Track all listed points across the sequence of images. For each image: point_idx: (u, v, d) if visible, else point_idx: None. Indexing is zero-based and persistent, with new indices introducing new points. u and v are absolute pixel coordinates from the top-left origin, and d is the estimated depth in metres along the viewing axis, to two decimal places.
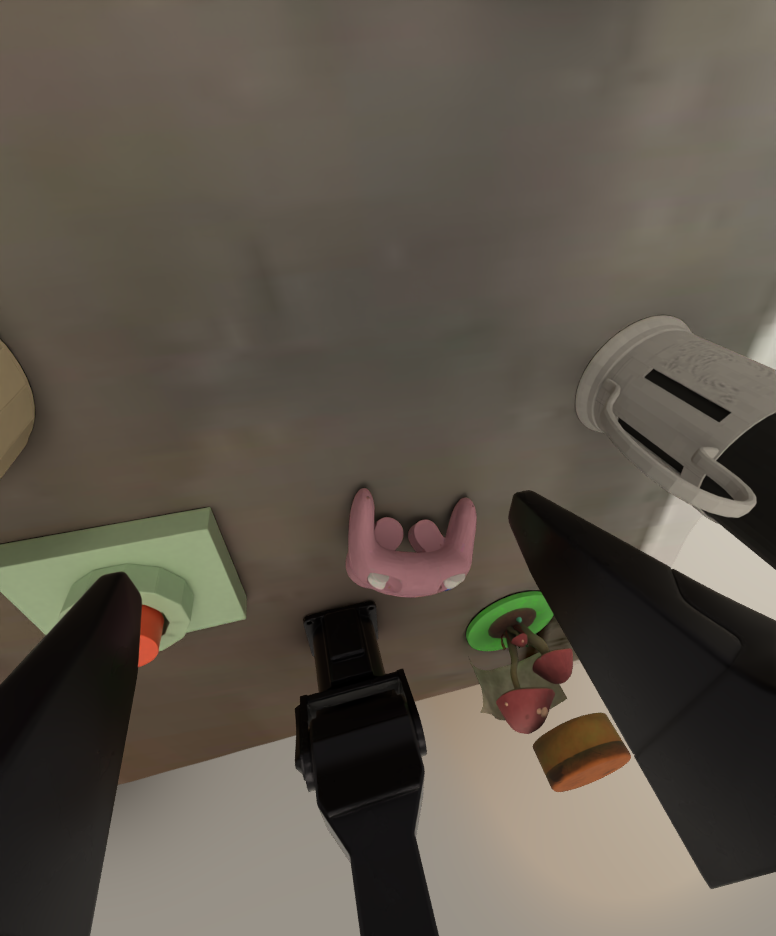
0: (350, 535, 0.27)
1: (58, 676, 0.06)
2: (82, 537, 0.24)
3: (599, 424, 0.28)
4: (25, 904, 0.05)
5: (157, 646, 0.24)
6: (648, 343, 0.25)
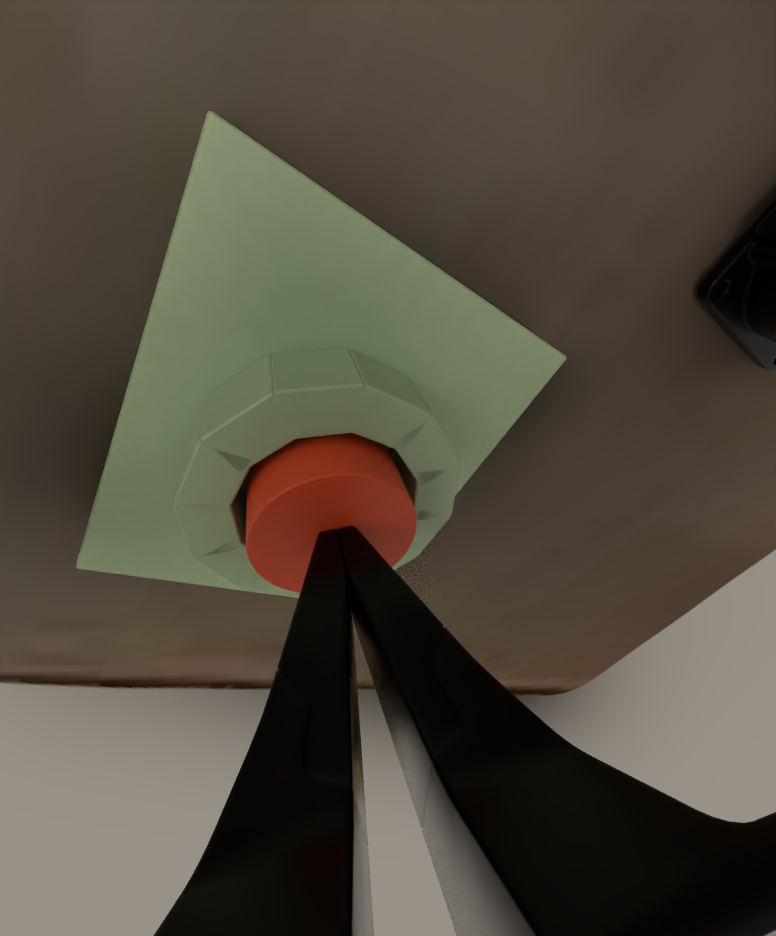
0: None
1: (342, 609, 0.07)
2: None
3: None
4: (360, 796, 0.06)
5: (388, 483, 0.09)
6: None
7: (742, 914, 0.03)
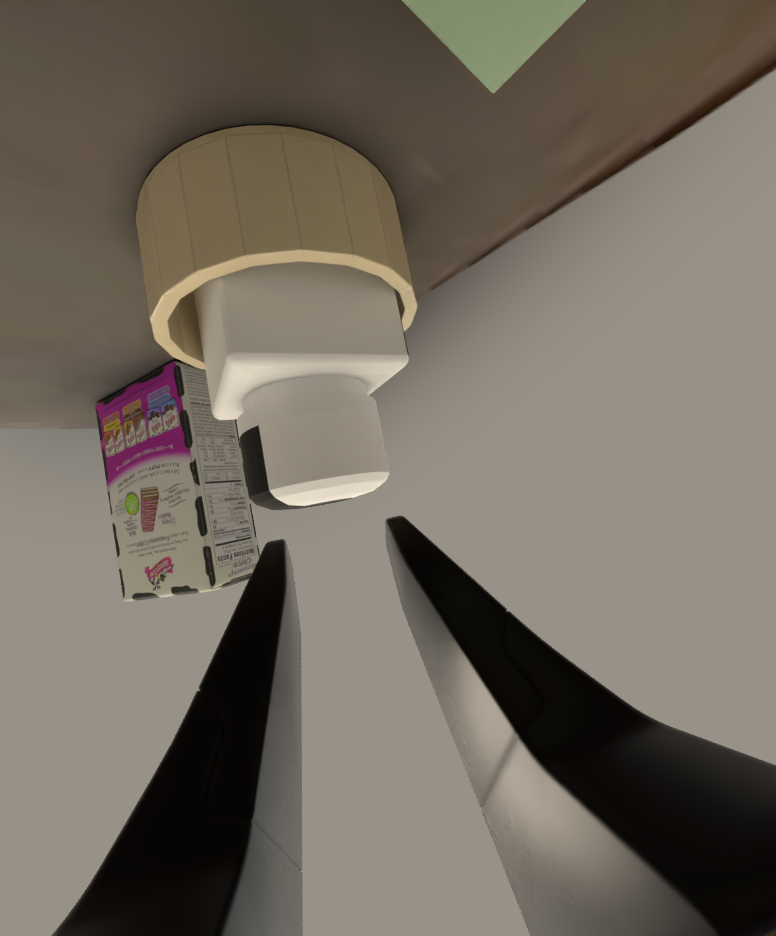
0: None
1: (275, 625, 0.07)
2: None
3: None
4: (282, 822, 0.06)
5: None
6: None
7: None
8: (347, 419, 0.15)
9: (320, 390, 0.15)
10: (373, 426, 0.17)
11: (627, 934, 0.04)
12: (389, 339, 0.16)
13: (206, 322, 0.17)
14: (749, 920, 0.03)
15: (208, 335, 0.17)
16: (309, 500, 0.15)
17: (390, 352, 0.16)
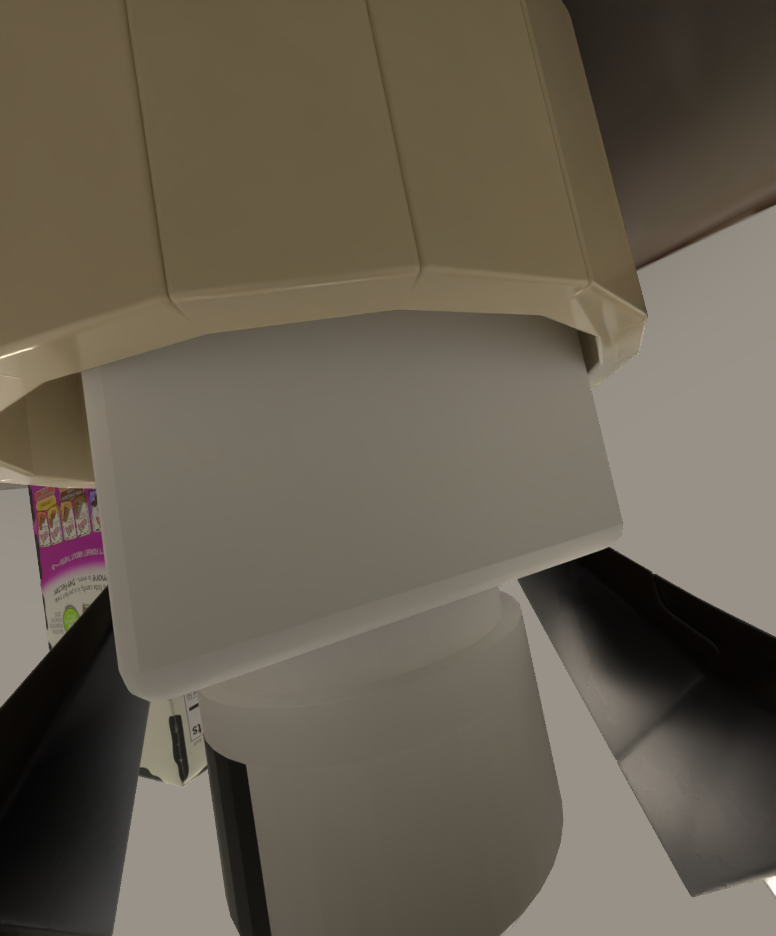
0: None
1: (82, 670, 0.06)
2: None
3: None
4: (54, 895, 0.05)
5: None
6: None
7: None
8: (496, 739, 0.06)
9: (419, 656, 0.06)
10: (536, 700, 0.07)
11: None
12: (587, 491, 0.06)
13: None
14: None
15: None
16: None
17: (591, 527, 0.06)
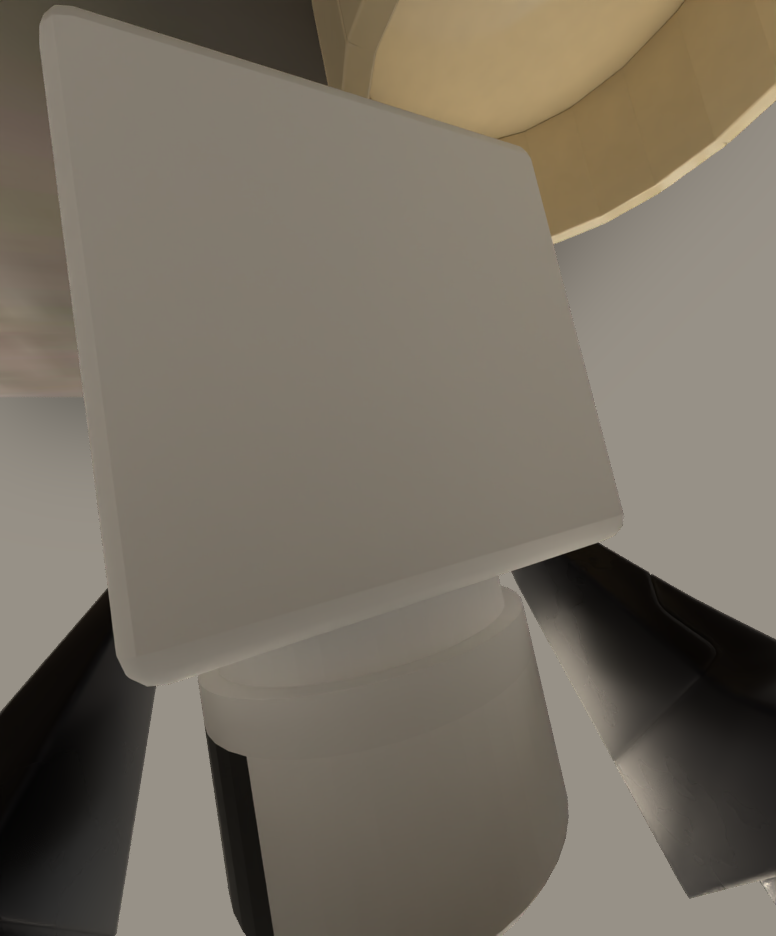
0: None
1: (87, 669, 0.06)
2: None
3: None
4: (60, 893, 0.05)
5: None
6: None
7: None
8: (496, 731, 0.05)
9: (418, 647, 0.06)
10: (538, 693, 0.07)
11: None
12: (585, 481, 0.06)
13: None
14: None
15: None
16: None
17: (591, 517, 0.06)
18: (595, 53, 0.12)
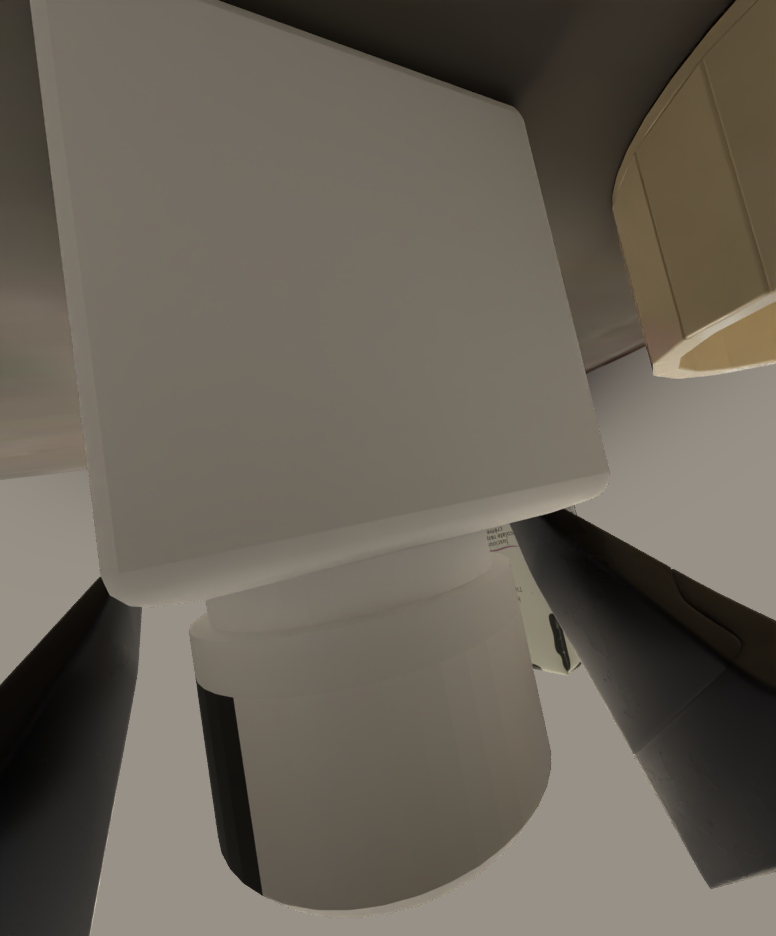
0: None
1: (58, 676, 0.06)
2: None
3: None
4: (25, 905, 0.05)
5: None
6: None
7: None
8: (478, 675, 0.06)
9: (402, 594, 0.06)
10: (524, 649, 0.07)
11: None
12: (572, 438, 0.06)
13: None
14: None
15: None
16: None
17: (576, 473, 0.06)
18: None
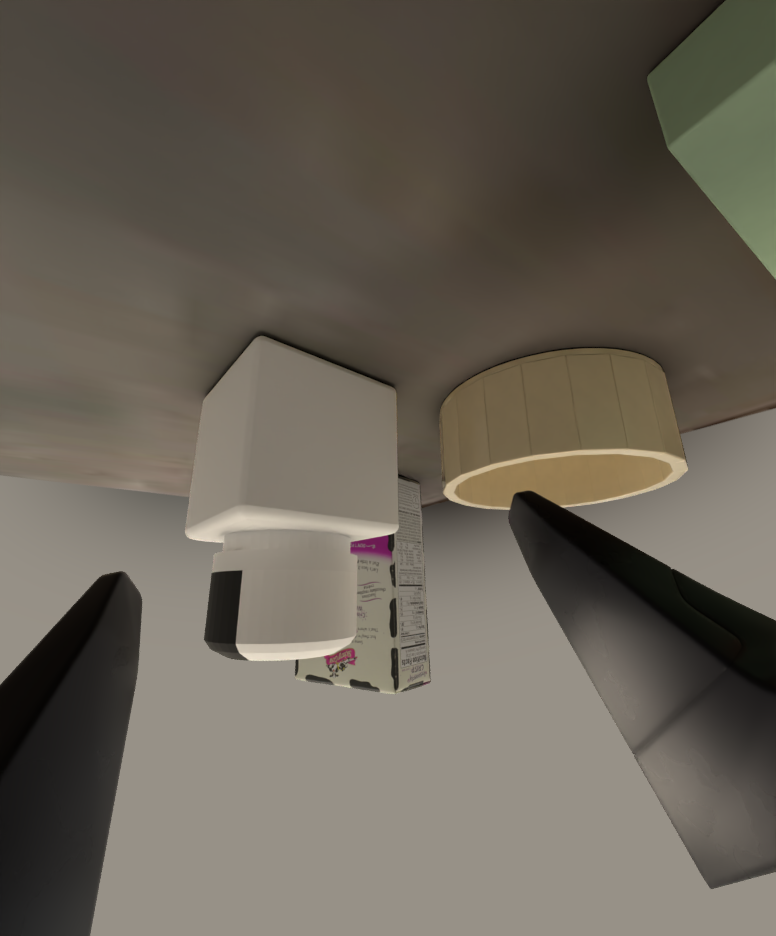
0: None
1: (58, 676, 0.06)
2: None
3: None
4: (25, 905, 0.05)
5: None
6: None
7: None
8: (332, 581, 0.16)
9: (313, 546, 0.16)
10: (353, 587, 0.17)
11: None
12: (385, 508, 0.17)
13: (213, 449, 0.17)
14: None
15: (211, 462, 0.17)
16: (274, 660, 0.15)
17: (384, 520, 0.17)
18: None
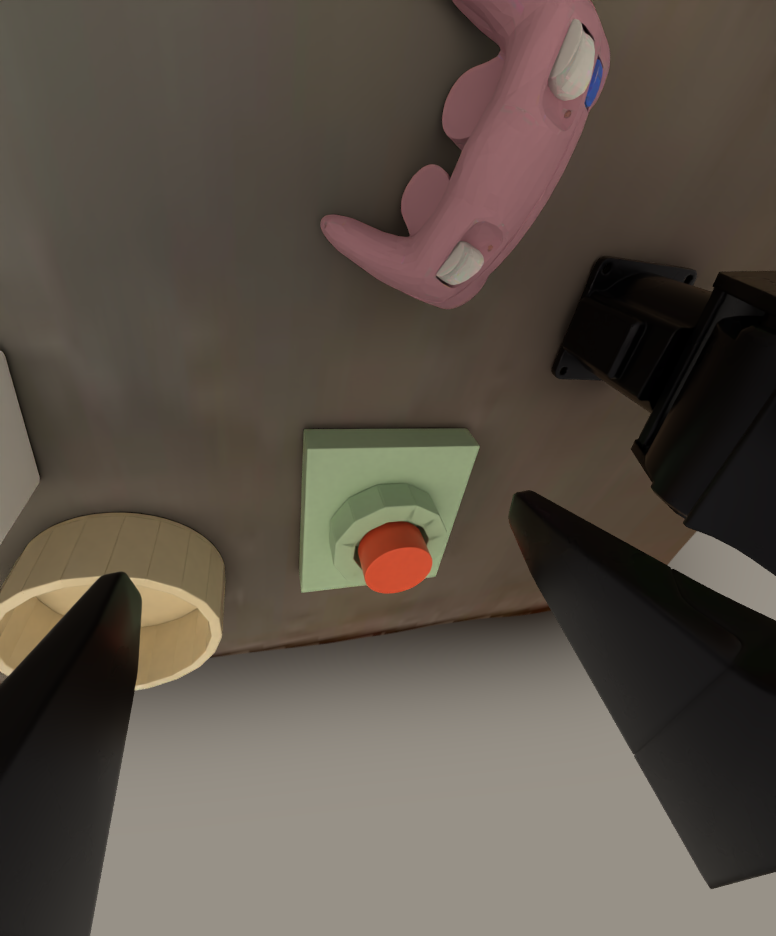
0: (381, 280, 0.16)
1: (58, 676, 0.06)
2: (301, 530, 0.26)
3: None
4: (24, 905, 0.05)
5: (410, 547, 0.22)
6: None
7: None
8: None
9: None
10: None
11: None
12: None
13: None
14: None
15: None
16: None
17: None
18: None
